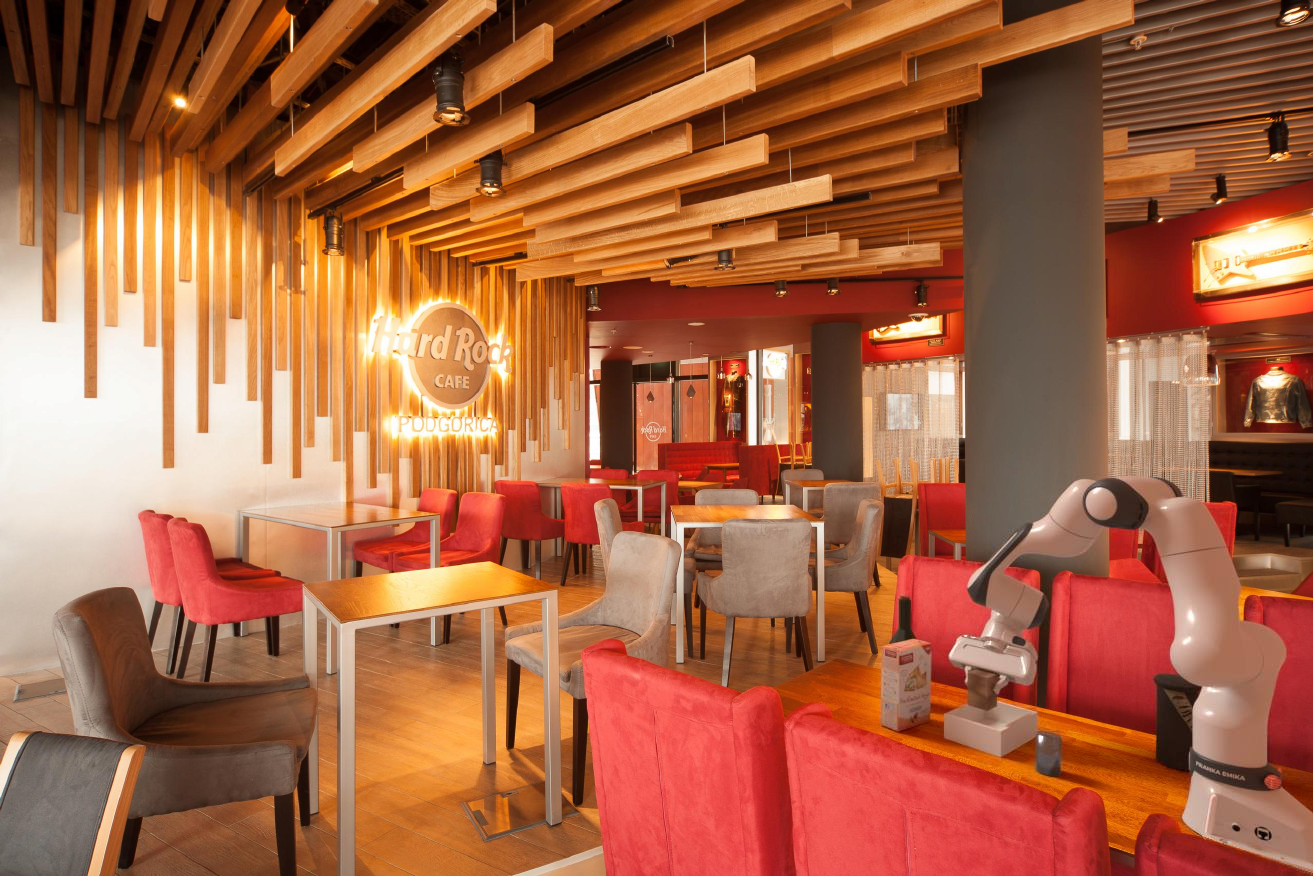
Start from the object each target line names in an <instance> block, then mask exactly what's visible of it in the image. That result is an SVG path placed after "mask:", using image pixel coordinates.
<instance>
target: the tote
mask: <svg viewBox="0 0 1313 876" xmlns="http://www.w3.org/2000/svg"><path fill="white" fill-rule="evenodd" d="M1038 715H1039V714H1038V711H1034V710H1032V709H1031V710H1030V709H1028V708H1025V707H1021V706H1018V705H1014V704H1009V703H1007V702H1003V701H999V700H997V707H995V708H993V709H991V710H989V711H986V710H982V709H979V708H976V707H972V706H969V705H967V703H965V704H963V705H961V706H958V707H957V708H954V709H952V710H949V711H948V712H945V713H943V739H945V740H949V741H952V742H955V743H957V744H961V745H963V746H966V747H969V748H972V749H975V750H978V751H981V752H983V753H987V754H990V755H993V756H996V757H998V758H1002V757H1004V756H1006V755H1007V754H1009V753H1011V752H1012V751H1014V750H1016V749H1018V748H1019V747H1022V746H1023V745H1025V744H1026V743H1028V742H1030V741H1031V740H1033V739H1036V732H1037V731H1039V728H1038V726H1039V724H1038V722H1039V721H1038V719H1039V718H1038Z"/></svg>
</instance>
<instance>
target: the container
mask: <svg viewBox="0 0 1313 876" xmlns="http://www.w3.org/2000/svg"><path fill="white" fill-rule="evenodd" d="M1152 679H1153V682H1154V683H1155V685H1156V717H1155V718H1156V721H1155V722H1156V725H1155V727H1156V728H1155V729H1156V733H1155V758H1156V761H1157V762H1159V764H1161V765H1164V766H1165V767H1168V768H1171V769H1174V770H1179V771H1185V772H1190V770H1189V752H1190V747H1192V745H1193V706H1194V703H1195V702H1196V700H1197V699H1198V697H1199V693H1200V692H1201V689H1202V686H1198V685H1195V684H1192V683H1190V682H1189V681H1187V680H1185V679H1184V678H1183V677H1182V676H1180V675H1179V674H1176V673H1157V674H1155V675H1153V678H1152Z"/></svg>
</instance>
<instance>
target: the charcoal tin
mask: <svg viewBox="0 0 1313 876" xmlns="http://www.w3.org/2000/svg"><path fill="white" fill-rule="evenodd" d="M1062 740H1063V738H1062V735H1060V734H1058V733H1054V732H1051V731H1047V730H1038V731H1037V732H1036V737H1035V766H1034V767H1035V768H1034V770H1035V771H1037V772H1038V773H1040V774H1042V775H1045V776H1049V777H1059V776H1061V775H1062V774H1061V773H1062V745H1063V744H1062V743H1063V741H1062Z"/></svg>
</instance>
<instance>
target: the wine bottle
mask: <svg viewBox="0 0 1313 876" xmlns="http://www.w3.org/2000/svg"><path fill="white" fill-rule="evenodd" d="M911 639H917V640H918V638H917V637H916V636H915V634H914V632H913V630H912V599H911V598H910V596H908V595H900V598H898V629H897V630H896V632H895V633H894V635H893V636H892V637H891V639H890V640H889V644H893V643H898V642H902V641H906V640H911ZM889 644H888V645H889Z"/></svg>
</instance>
